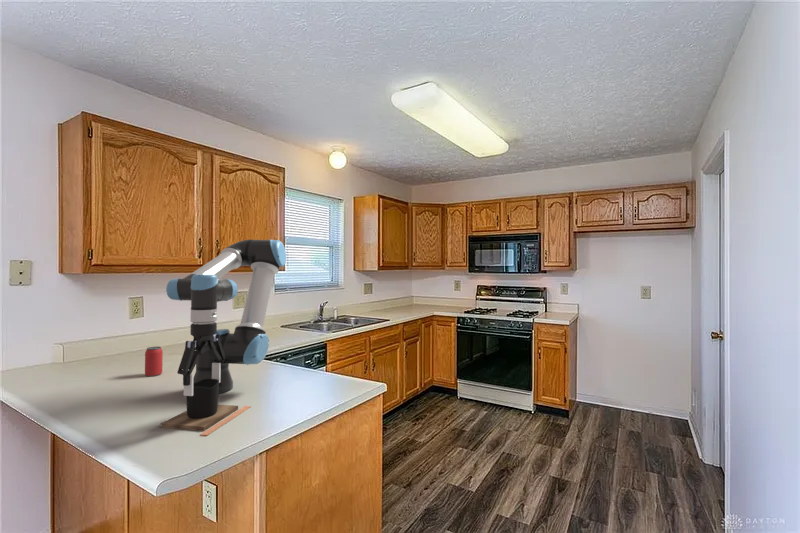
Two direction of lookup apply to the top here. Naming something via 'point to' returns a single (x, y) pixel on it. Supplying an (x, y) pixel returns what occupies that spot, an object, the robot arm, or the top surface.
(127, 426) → the top surface
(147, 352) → the beer can
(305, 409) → the top surface
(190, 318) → the robot arm
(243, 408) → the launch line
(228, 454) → the top surface
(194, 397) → the pen holder
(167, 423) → the board
